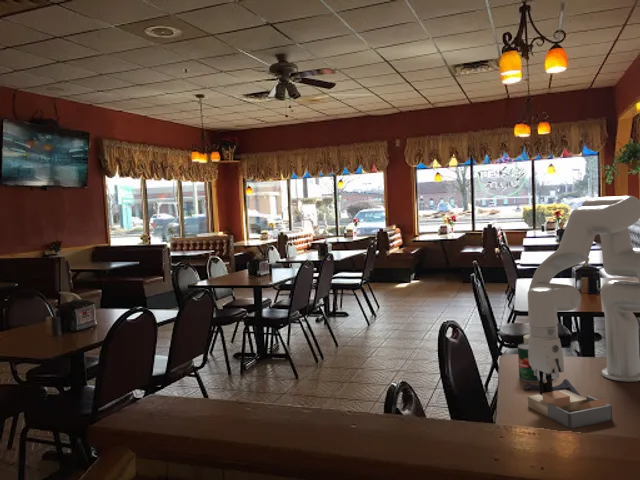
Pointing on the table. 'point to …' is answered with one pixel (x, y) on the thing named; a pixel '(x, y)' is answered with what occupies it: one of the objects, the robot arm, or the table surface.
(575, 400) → the board
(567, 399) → the tile
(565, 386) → the bracket
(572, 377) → the table surface
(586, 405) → the tile
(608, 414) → the bus tub
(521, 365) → the canned tomato
